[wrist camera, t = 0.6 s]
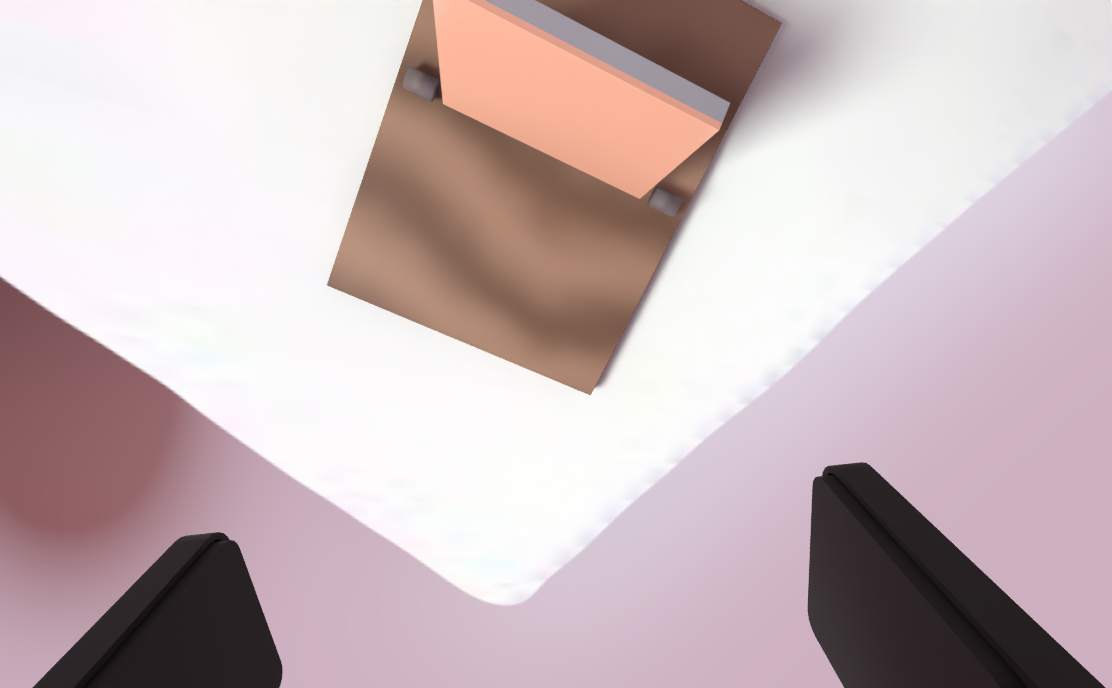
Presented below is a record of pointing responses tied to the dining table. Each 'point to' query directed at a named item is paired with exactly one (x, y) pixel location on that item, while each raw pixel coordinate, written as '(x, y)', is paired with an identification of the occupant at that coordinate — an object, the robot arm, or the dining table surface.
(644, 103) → the tile
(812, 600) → the robot arm
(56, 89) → the dining table surface
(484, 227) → the hinge board
